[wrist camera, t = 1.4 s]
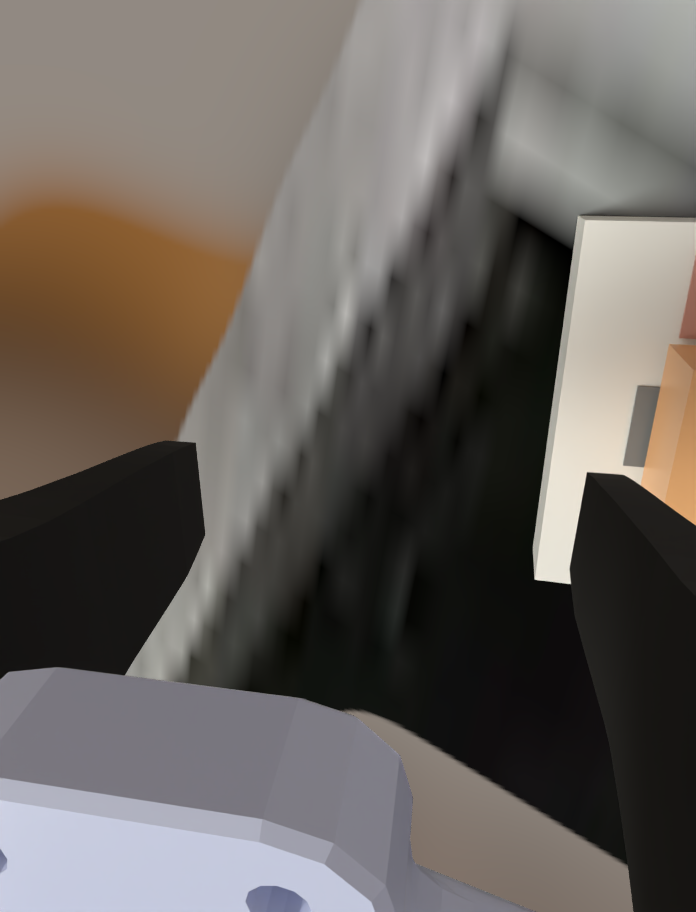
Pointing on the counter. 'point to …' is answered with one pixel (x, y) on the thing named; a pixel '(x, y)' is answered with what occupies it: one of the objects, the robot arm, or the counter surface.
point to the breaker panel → (611, 363)
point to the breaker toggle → (675, 435)
